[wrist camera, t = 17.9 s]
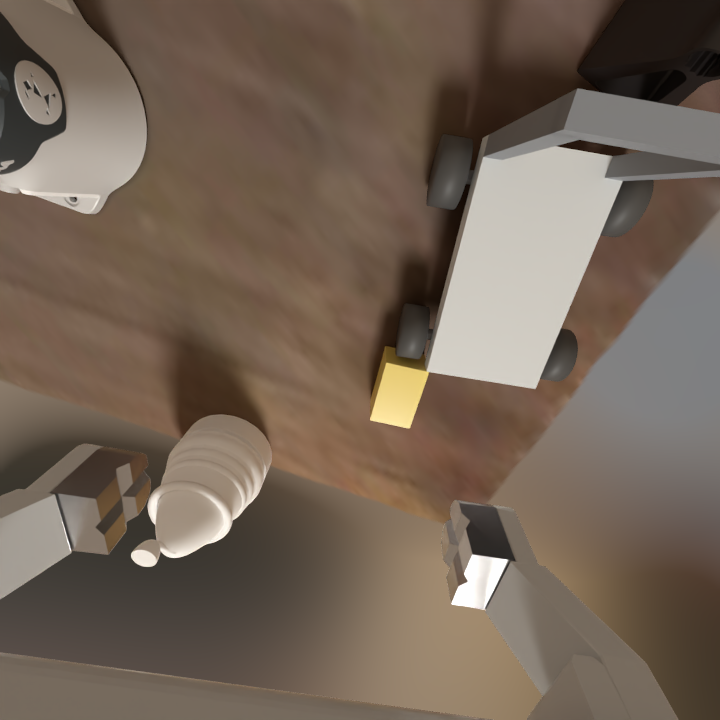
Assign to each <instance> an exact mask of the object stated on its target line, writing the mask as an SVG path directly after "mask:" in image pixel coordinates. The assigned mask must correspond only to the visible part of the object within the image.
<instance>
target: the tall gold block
mask: <svg viewBox="0 0 720 720" xmlns="http://www.w3.org/2000/svg"><path fill="white" fill-rule="evenodd" d="M395 350H396V348H393V347H388V346H385V349H384V353H383V356H382V360H381V364H380V367H379V371H378V374H377V378H376V382H375V385H374V389H373V393H372V396H371V403H370V420H371V421H376V422H381V423H386V424H390V425H395V426H400V427H404V428H409V429H410V426H411V423H412V420H413V417H414V415H415V412H416V409H417V406H418V403H419V400H420V397H421V394H422V392H423V389H424V386H425V383H426V380H427V377H428V374H429V372H427V371H426V367H425V360H426V359H425V356H424V354H422V356H421V358H420V359H413V358H406V357H400V356H396V352H395Z"/></svg>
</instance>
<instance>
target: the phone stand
mask: <svg viewBox="0 0 720 720" xmlns="http://www.w3.org/2000/svg"><path fill="white" fill-rule="evenodd" d="M577 72H578V73H579V74H580V75H581V76H583V77H584V78H585V79H586V80H587V81H589V82H590V83H591V84H592V85H593V86H595V87H596V88H597V89H598V90H599V91H601V92H602V93H607V94H612V95H618V96H623V97H629V98H635V99H640V100H646V101H651V102H657V103H663V104H668V105H674V106H677V105H679V104H680V103H681V102H682V101H683V100H684V99H686V98H687V97H688V96H689V95H690V94H691V93H692V92H694V91H695V90H696V89H697V88H698V87H699V86H701V85H702V84H704V83H707V82H709V81H713V80H718V79H720V0H626V1H625V2H624V4H623V5H622V6H621V8H620V9H619V11H618V12H617V14H616V15H615V17H614V18H613V20H612V21H611V22H610V24H609V25H608V27H607V28H606V30H605V31H604V33H603V34H602V36H601V37H600V38H599V40H598V41H597V43H596V44H595V46H594V47H593V49H592V50H591V52H590V53H589V54H588V56H587V57H586V59H585V60H584V62H583V63H582V65H581V66H580V68H579V69H578V71H577Z"/></svg>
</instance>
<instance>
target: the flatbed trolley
mask: <svg viewBox="0 0 720 720" xmlns="http://www.w3.org/2000/svg"><path fill="white" fill-rule="evenodd" d="M577 140H583V141H589V142H595V143H600V144H606V145H612V146H617V147H623V148H629V149H634V150H640V151H644V152H637V153H631V154H625V155H618V156H608V155H603V154H597V153H591V152H586V151H580V150H574V149H568V148H563V147H557V146H558V145H562V144H565V143H569V142H573V141H577ZM472 152H473V141H472V139H470V138H464V137H459V136H453V135H447V134H443V135H442V136H441V138H440V141H439V144H438V147H437V150H436V153H435V157H434V161H433V165H432V169H431V174H430V179H429V184H428V191H427V206H432V207H438V208H444V209H450V210H454V209H455V208H456V207H457V205H458V203H459V201H460V199H461V196H462V193H463V191H464V188H465V184H469V185H470V189H469V193H468V197H467V201H466V204H465V208H464V212H463V216H462V220H461V224H460V228H459V232H458V236H457V239H456V243H455V247H454V251H453V255H452V259H451V263H450V267H449V271H448V274H447V278H446V282H445V286H444V290H443V294H442V298H441V302H440V305H439V309H438V313H437V317H436V321H435V325H434V329H429V320H430V312H429V307H426V306H420V305H414V304H408V303H405V304H404V306H403V309H402V312H401V316H400V320H399V325H398V331H397V338H396V350H395V352H396V356H400V357H406V358H413V359H420V358H421V356H422V354H423V351H424V348H425V344H426V340H427V339H428V340H430V344H429V348H428V352H427V356H426V360H425V367H426V371H427V372H432V373H439V374H445V375H451V376H458V377H464V378H470V379H477V380H483V381H489V382H495V383H502V384H508V385H514V386H521V387H527V388H533V389H536V386H537V384H538V382H539V379H544V380H551V381H562V380H564V379H565V378H566V377H567V376H568V375H569V374H570V372H571V371H572V369H573V367H574V365H575V362H576V358H577V351H578V345H577V340H576V337H575V335H574V333H573V332H572V331H570V330H567V329H561V327H562V324H563V322H564V320H565V317H566V315H567V313H568V310H569V308H570V305H571V303H572V301H573V298H574V296H575V294H576V291H577V289H578V286H579V284H580V282H581V279H582V277H583V275H584V272H585V270H586V267H587V265H588V263H589V260H590V258H591V256H592V253H593V251H594V248H595V246H596V244H597V241H598V239H599V237H600V235H603V236H609V237H618V236H621V235H623V234H625V233H626V232H628V231H629V230H630V229H631V228H632V227H633V226H634V225H635V224H636V223H637V222H638V221H639V219H640V218H641V217H642V215H643V213H644V212H645V210H646V208H647V206H648V204H649V202H650V199H651V196H652V192H653V180H656V179H678V178H699V177H720V114H719V113H713V112H707V111H702V110H696V109H691V108H685V107H679V106H674V105H668V104H663V103H657V102H651V101H646V100H640V99H635V98H629V97H623V96H618V95H612V94H607V93H601V92H595V91H590V90H584V89H579V88H577V89H575V90H573V91H571V92H570V93H568V94H566V95H564V96H562V97H560V98H558V99H556V100H554V101H552V102H550V103H549V104H547V105H545V106H543V107H541V108H539V109H537V110H535V111H533V112H531V113H529V114H528V115H526V116H524V117H522V118H520V119H518V120H516V121H514V122H512V123H510V124H508V125H507V126H505V127H503V128H501V129H499V130H497V131H495V132H493V133H491V134H489V135H487V136H486V137H484V138H482V142H481V146H480V150H479V154H478V158H477V162H476V166H475V169H474V170H469V169H470V165H471V159H472Z"/></svg>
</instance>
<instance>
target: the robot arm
mask: <svg viewBox="0 0 720 720" xmlns="http://www.w3.org/2000/svg"><path fill="white" fill-rule="evenodd" d="M146 140H147V125H146V116H145V111H144V107H143V103H142V100H141V96H140V94H139V91H138V88H137V86H136V84H135V82H134V80H133V78H132V76H131V74H130V72H129V71H128V69H127V67H126V66H125V64H124V63H123V61H122V60H121V59H120V57H119V56H118V55H117V53H116V52H115V51H114V50H113V49H112V48H111V47H110V46H109V45H108V44H107V43H106V42H105V41H104V40H103V39H102V38H101V37H100V36H99V35H98V34H97V33H96V32H95V31H93V30H92V28H91V27H90V26H89V25H88V24H87V23H86V22H85V20H84V19H83V17H82V15H81V13H80V12H79V10H78V8H77V7H76V5H75V3H74V2H73V0H0V190H2V191H5V192H9V193H19V190H20V191H21V192H22V193H23V194H27V195H35V196H37V197H40V198H43V199H46V200H48V201H51V202H54V203H57V204H59V205H62V206H65V207H68V208H70V209H73V210H76V211H79V212H81V213H85V214H96V213H98V212H99V211H100V210H101V208H102V207H103V205H104V203H105V202H106V200H107V197H108V195H109V194H110V193H111V192H113V191H114V190H115V189H117V188H119V187H120V186H122V185H124V184H125V183H126V182H127V181H129V180H130V179H131V178H132V176H133V175H134V174H135V173H136V171H137V170H138V168H139V166H140V164H141V162H142V159H143V156H144V153H145V148H146ZM74 197H77V201H76V200H75V198H74ZM147 466H148V461H147V456H146V455H145V454H142V453H138V452H132V451H127V450H121V449H115V448H110V447H101V446H96V445H91V444H83V445H80V446H77V447H76V448H75V449H74V450H73V451H71V452H70V453H69V454H68V455H66V456H65V457H64V458H63V459H61V460H60V461H59V462H58V463H57V464H55V465H54V466H53V467H52V468H51V469H49V470H48V471H47V472H46V473H45V474H43V475H42V476H41V477H40V478H39V479H37V480H36V481H35V482H34V483H33V484H31V485H30V486H29V487H28V488H27V489H25V490H23V489H17V490H14V491H12V492H9V493H7V494H4V495H2V496H0V599H1V598H3V597H4V596H6V595H8V594H9V593H11V592H12V591H14V590H15V589H17V588H18V587H20V586H21V585H23V584H24V583H26V582H27V581H29V580H30V579H32V578H33V577H35V576H37V575H38V574H40V573H41V572H43V571H44V570H46V569H47V568H49V567H50V566H52V565H53V564H55V563H56V562H58V561H59V560H61V559H63V558H64V557H66V556H67V555H69V554H70V553H71V550H73V551H81V552H90V553H99V554H109V553H110V552H111V550H112V549H113V548H114V546H115V545H116V544H117V543H118V541H119V540H120V538H121V537H122V536H123V535H124V533H125V532H126V530H127V529H126V522H127V521H129V520H130V519H132V518H134V517H136V516H138V514H139V513H140V512H141V510H142V509H143V508H144V506H145V504H146V502H147V499H148V497H149V494H150V488H151V483H150V478H149V477H148V475H146V473H145V472H144V470H145V468H146V467H147ZM450 514H451V519H449V520H448V521H446V522H445V525H444V528H443V531H442V541H441V544H442V555H443V560H444V562H445V563H446V564H447V565H448V566H449V567H450V569H449V571H448V574H447V583H448V588H449V594H450V599H451V604H455V605H461V606H466V607H472V608H477V609H483V610H486V611H485V612H486V614H487V615H488V616H489V618H490V620H491V621H492V622H493V624H494V625H495V627H496V628H497V630H498V631H499V633H500V634H501V636H502V637H503V638H504V640H505V642H506V643H507V644H508V646H509V648H510V649H511V650H512V652H513V653H514V655H515V656H516V658H517V659H518V661H519V662H520V664H521V665H522V667H523V668H524V669H525V671H526V672H527V674H528V675H529V677H530V678H531V680H532V681H533V683H534V684H535V686H536V687H537V689H538V690H539V692H540V693H541V694H542V696H543V697H542V698H541V699H540V701H539V702H538V704H537V705H536V706H535V708H534V709H533V710H532V712H531V713H530V715H529V716H528V718H527V720H678V718H677V716H676V715H675V713H674V711H673V709H672V708H671V706H670V704H669V702H668V701H667V699H666V697H665V695H664V694H663V692H662V690H661V688H660V687H659V685H658V683H657V681H656V680H655V678H654V677H653V674H652V673H651V671H650V669H649V667H648V666H647V664H646V662H644V660H642V659H641V658H640V657H639V656H638V655H637V654H636V653H635V652H634V651H633V650H632V649H631V648H630V647H629V646H628V645H627V644H626V643H625V642H624V641H623V640H621V638H619V637H618V636H617V635H616V634H615V633H614V632H613V631H612V630H611V629H610V628H609V627H608V626H607V625H606V624H605V623H604V622H603V621H602V620H600V619H599V618H598V617H597V616H596V615H595V614H594V613H593V612H592V611H591V610H590V609H589V608H588V607H587V606H586V605H585V604H584V603H583V602H582V601H581V600H580V599H579V598H577V596H575V595H574V594H573V593H572V592H571V591H570V590H569V589H568V588H567V587H566V586H565V585H564V584H563V583H562V582H561V581H560V580H559V579H558V578H557V577H556V576H555V575H554V574H552V573H551V572H550V571H549V570H548V569H547V568H546V567H545V566H540V565H539V564H538V563H537V560H536V557H535V555H534V553H533V551H532V548H531V546H530V544H529V542H528V539H527V537H526V535H525V533H524V530H523V528H522V526H521V523H520V521H519V519H518V517H517V514H516V512H515V511H514V510H513V509H512V508H510V507H502V506H495V505H488V504H481V503H474V502H466V501H459V500H455V501H454V502H453V503H452V505H451V508H450ZM0 720H491V719H484V718H476V717H469V716H461V715H455V714H447V713H440V712H433V711H425V710H418V709H410V708H403V707H395V706H389V705H382V704H374V703H367V702H360V701H352V700H345V699H338V698H330V697H323V696H316V695H309V694H301V693H293V692H286V691H279V690H272V689H265V688H257V687H250V686H243V685H236V684H228V683H221V682H214V681H206V680H199V679H192V678H184V677H177V676H169V675H162V674H155V673H148V672H140V671H132V670H126V669H118V668H111V667H104V666H96V665H88V664H81V663H74V662H66V661H59V660H52V659H45V658H37V657H30V656H23V655H15V654H7V653H0Z"/></svg>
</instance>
